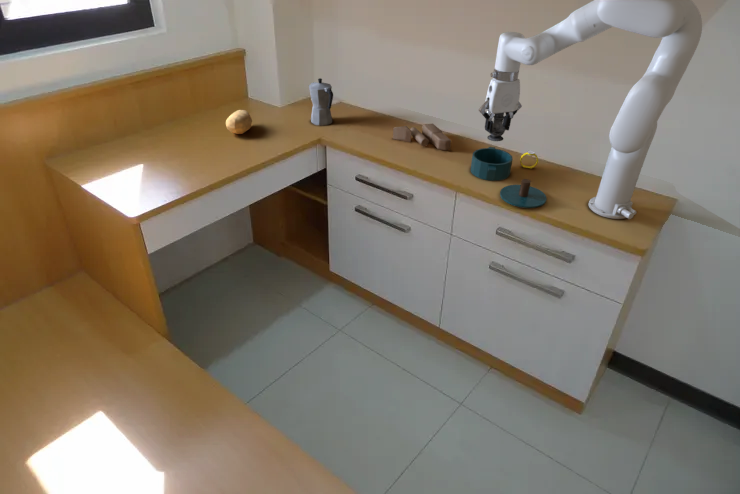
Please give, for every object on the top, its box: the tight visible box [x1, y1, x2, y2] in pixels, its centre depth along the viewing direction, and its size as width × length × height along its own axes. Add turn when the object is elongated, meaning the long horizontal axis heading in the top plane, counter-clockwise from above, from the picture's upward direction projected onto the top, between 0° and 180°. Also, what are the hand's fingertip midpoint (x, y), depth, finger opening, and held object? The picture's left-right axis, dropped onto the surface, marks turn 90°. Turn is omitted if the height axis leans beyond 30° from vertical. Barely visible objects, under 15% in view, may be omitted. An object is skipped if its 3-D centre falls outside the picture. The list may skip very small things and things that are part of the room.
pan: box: [470, 146, 514, 182], centre depth 177 cm, size 13×19×6 cm
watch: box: [519, 150, 539, 170], centre depth 181 cm, size 6×3×6 cm, turn 78°
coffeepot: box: [308, 77, 334, 127], centre depth 210 cm, size 15×9×18 cm, turn 37°
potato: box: [225, 109, 253, 135], centre depth 203 cm, size 10×14×8 cm
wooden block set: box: [392, 123, 452, 151], centre depth 196 cm, size 17×6×18 cm
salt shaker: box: [487, 113, 507, 142], centre depth 168 cm, size 6×6×12 cm
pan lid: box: [499, 178, 548, 209], centre depth 162 cm, size 14×14×6 cm
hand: (496, 129), depth 170 cm, fingers closed on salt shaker, 5 cm apart
